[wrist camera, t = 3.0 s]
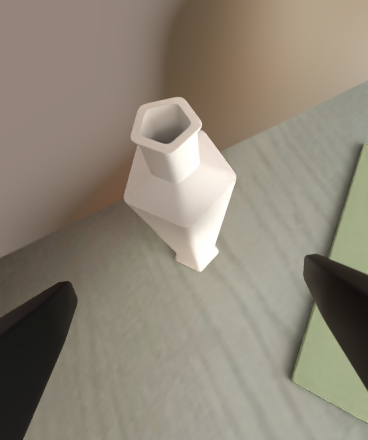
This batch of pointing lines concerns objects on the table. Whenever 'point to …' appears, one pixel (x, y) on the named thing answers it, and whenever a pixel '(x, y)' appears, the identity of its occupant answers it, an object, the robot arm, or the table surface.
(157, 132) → the perfume bottle
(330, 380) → the mat
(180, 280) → the table surface
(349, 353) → the robot arm
